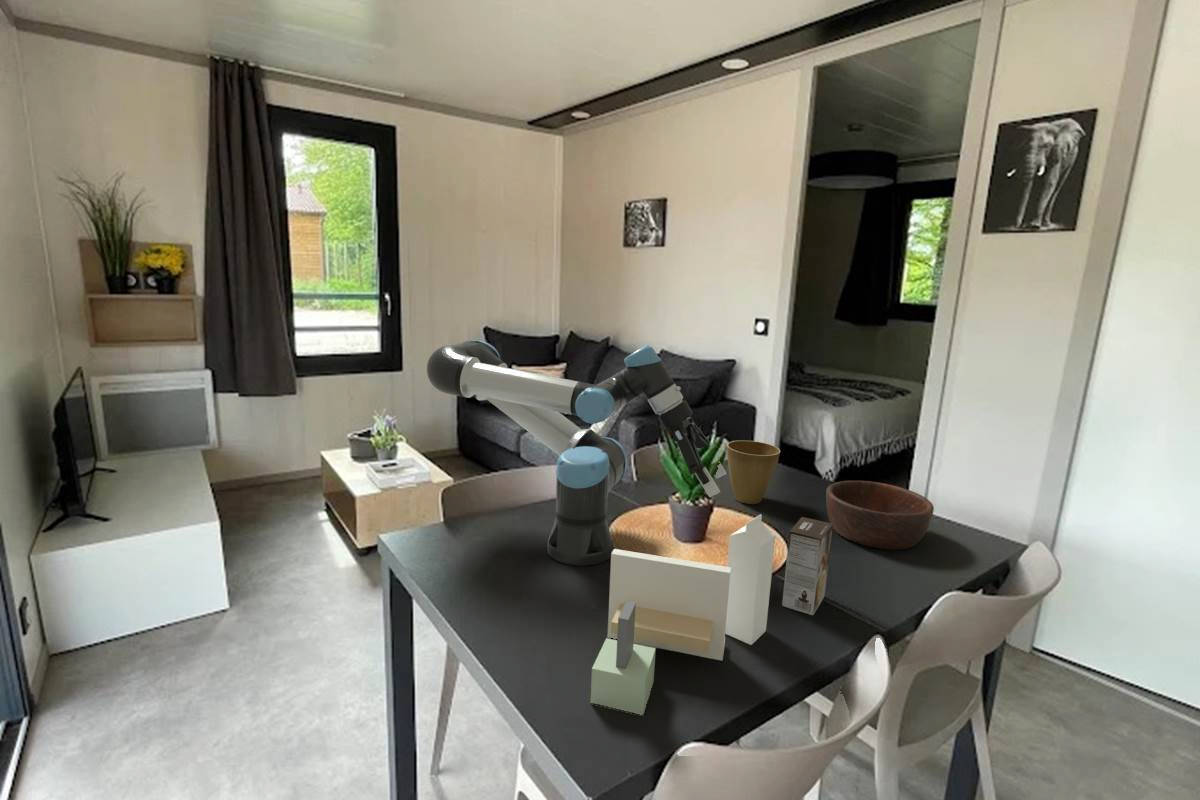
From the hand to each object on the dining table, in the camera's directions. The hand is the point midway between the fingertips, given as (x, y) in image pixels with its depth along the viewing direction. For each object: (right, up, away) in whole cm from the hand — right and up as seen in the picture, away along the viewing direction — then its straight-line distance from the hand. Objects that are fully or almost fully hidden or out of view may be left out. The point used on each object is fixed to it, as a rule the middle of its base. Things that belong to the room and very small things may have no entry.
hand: (718, 485), depth 141 cm
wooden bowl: (+43, -15, +15) cm, 48 cm away
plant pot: (+16, -9, +36) cm, 40 cm away
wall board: (-17, -23, -38) cm, 47 cm away
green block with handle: (-24, -25, -48) cm, 59 cm away
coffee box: (+13, -21, -20) cm, 31 cm away
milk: (-2, -23, -31) cm, 38 cm away
